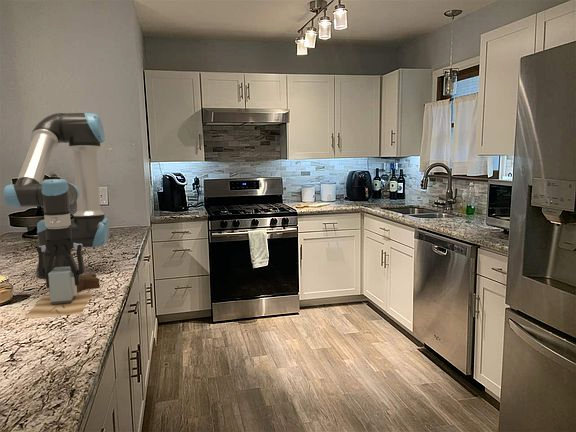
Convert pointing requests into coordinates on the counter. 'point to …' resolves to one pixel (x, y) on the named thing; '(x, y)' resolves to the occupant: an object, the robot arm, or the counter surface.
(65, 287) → the grey rectangular block
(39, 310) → the board
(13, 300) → the counter surface
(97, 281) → the decorative item
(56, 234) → the robot arm
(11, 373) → the counter surface
